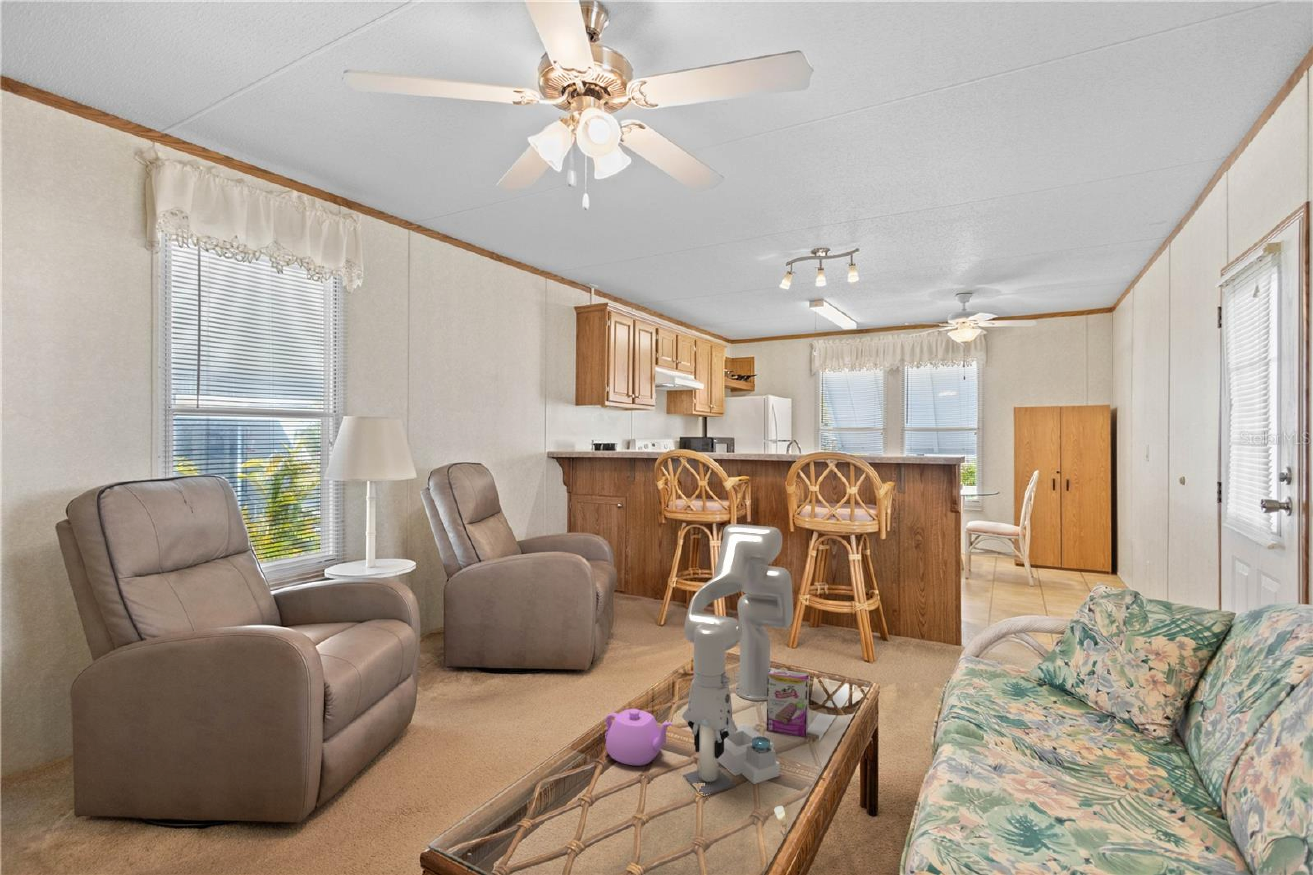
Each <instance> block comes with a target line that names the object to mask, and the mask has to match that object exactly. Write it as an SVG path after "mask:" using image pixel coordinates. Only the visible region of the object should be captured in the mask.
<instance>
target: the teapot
mask: <svg viewBox="0 0 1313 875" xmlns="http://www.w3.org/2000/svg"><path fill="white" fill-rule="evenodd" d="M611 718H614V719H613V721H612V722H611ZM605 724H606V730H607V731H605V733H604V737H605V741H606V743H605V748H606V752H607V753H608V755H609V756H610V758H612V759H613V760H614V761H616V762H619V763H621V764H623V765H624V764H625V765H628V766H629V765H630V766H637V767H638V766H640V767H641V766H645V765H647V764H649V763H650V762H652V761H653V760H654V759H655V758H656V757H657V755H659V753H660V751H661V749H662V748H663V747H664V746H665V744H666V742H667V731H668V727H669V726H670V725H673V722H672V721H666V722H663V723H662V724H661V725H660V726H659V725H658V722H657V720H656V719H655V717H654V715H653V714H651V713H650V712H648V711H644V710H639V709H638V708H630V709H629V708H628V709H625V710H622V711H621V712H619V713H618V712H610V713H608V715H607V716H606V717H605Z"/></svg>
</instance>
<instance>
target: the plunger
mask: <svg viewBox="0 0 1313 875" xmlns="http://www.w3.org/2000/svg"><path fill="white" fill-rule="evenodd" d="M770 741H771V740H770V739H769V738H768V737H765V736H764V737H760V736H759V737H754V738H753V739H752V746H753V747H754V748H755V751H757V752H758V753H759V754H761V753H764V752H767V749H769V748H770Z"/></svg>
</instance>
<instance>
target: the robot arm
mask: <svg viewBox="0 0 1313 875" xmlns="http://www.w3.org/2000/svg"><path fill="white" fill-rule="evenodd" d="M722 538H723V539H722V541H721V546H720V550H719V552H718V553H719V554H718V556H717V563H716V565H715V571H714V575H713V577H712V578H711V579H709V580H708V581H707V582H705V583H704V584H703V585H701V587H700V588H699V589H698V590H697V591H696V592H695V594H694V595H693V596H692V597H691V599H690V602H689V605H688V609H687V612H686V617H685V622H684V625H683V626H684V630H683V631H684V637H685V638H686V640H687V641H688V642H690V643H692V644H693V679H692V680H691V683H690V687H689V691H688V692H689V693H688V702H687V708H686V709H685V711H684V712H683V713H682V715H681V717H682V719H683V720H684V721H685V723H687V725H688V727H689V728H690V730H691V733H692V734H693V745H694V752H695V753H699V732H700V725H701V723H702V721H703V719H706V720H707V722H708V724H709V727H710V728H713V729H715V733H716V738H717V740H716V741H715V758H717V759H718V758H719V757H720V756H721V755H722V754H723V753H724V739H725V738H727V737H728V736H730V735H732V734H734V733H735V732H736V731H737V730H738V729H737V727H736V726H737V725H736V722H735V723H734V722H733V720H734V719H733V708H732V707H733V704H732V696H731V692H730V691H731V690H730V687H729V685H730V682H731V677H728V676H727V672H726V652H727V651H730V650H731V649H733V648H735V647H736V646H737V645H738V644H739V670H738V673H735V675H734V677H735V678H736V679H738V683H737V684H736V685H735V687H734V692H735V694H736V695H737V696H738V697H740V698H742V699H745V700H747V701H755V702H758V701H767V682H768V672H769V670H770V668H771V638H770V634H769V633H768V631H767V629H766V628H765V627H771V628H779V629H786V628H789V627H790V626H791V625H792V623H793V620H794V602H793V601H794V599H793V584H792V583H793V582H792V576H791V574H790V571H789V570H788V569H786V568H784V567H780V566H773V565H772V566H771V565H769V564H771V563H773V561H775V559H776V558H777V557H778V556H779V555H780V553H781V551H782V547H783V535H782V532H781V530H780V529H779V528H777V527H775V526H764V525H763V526H762V525H752V524H739V523H730V524H728V525H726V526H725V527H724V528H723V531H722ZM741 591H742V592H743V595H741V596H740V598H738V600H737V608H736V609H737V614H738V619H737V618H734V617H732V616H731V617H729V616H725V615H724V616H723V615H717V614H710V613H703V611H704V609H705V608H706V607H707V606H708V605H709V604H711V603H713V602H714V601H717V600H720V599H722V598H725V597H729V596H731V595H734V594H737V593H740V592H741ZM732 719H733V720H732ZM726 724H727V725H728V727H729V729H727V730H726V731H725V726H726Z"/></svg>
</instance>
